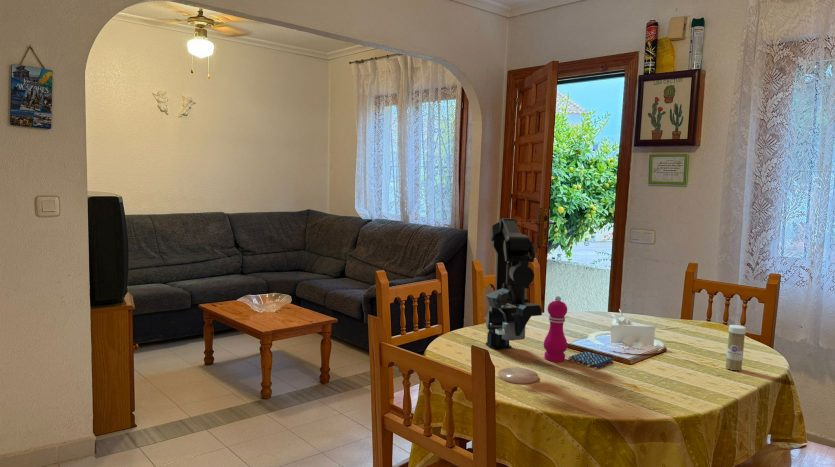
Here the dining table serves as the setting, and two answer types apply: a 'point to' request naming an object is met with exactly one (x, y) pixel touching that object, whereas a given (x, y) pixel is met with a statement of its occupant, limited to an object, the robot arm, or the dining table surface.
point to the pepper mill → (556, 332)
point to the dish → (629, 334)
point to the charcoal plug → (509, 331)
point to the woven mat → (590, 360)
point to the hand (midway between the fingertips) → (513, 333)
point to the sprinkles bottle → (735, 347)
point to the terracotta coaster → (518, 375)
